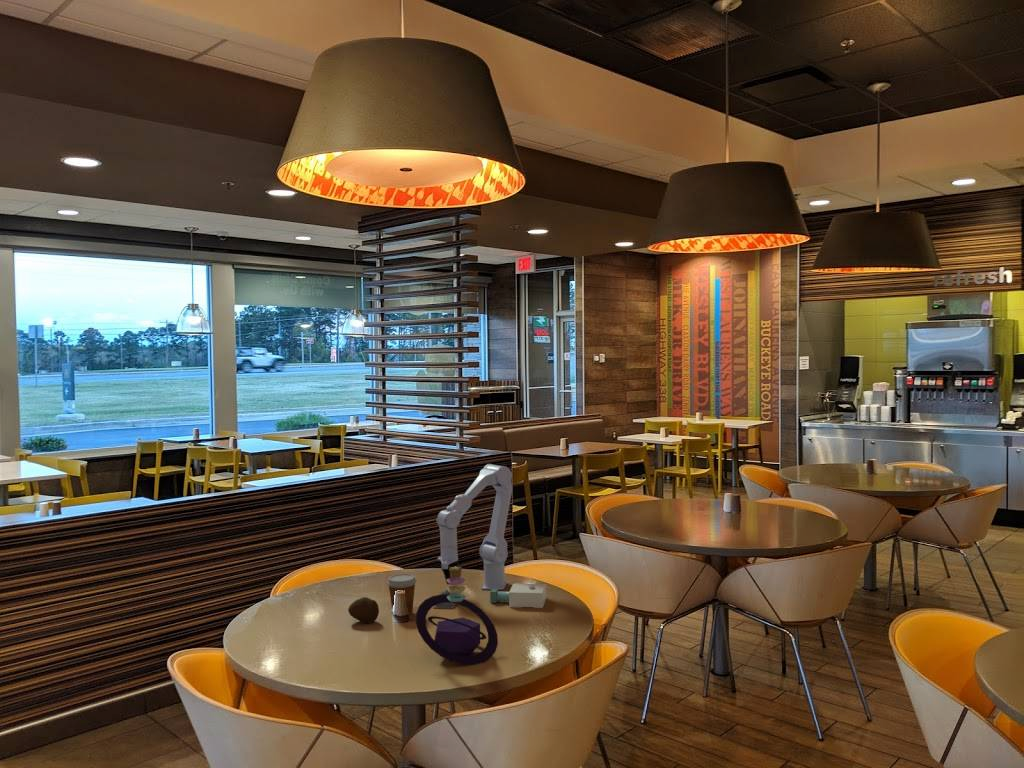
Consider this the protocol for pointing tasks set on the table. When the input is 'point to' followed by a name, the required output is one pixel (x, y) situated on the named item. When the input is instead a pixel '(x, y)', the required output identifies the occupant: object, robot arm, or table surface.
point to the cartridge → (498, 596)
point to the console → (445, 605)
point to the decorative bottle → (457, 627)
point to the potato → (364, 610)
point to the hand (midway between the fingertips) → (450, 583)
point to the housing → (527, 595)
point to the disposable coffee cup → (402, 588)
